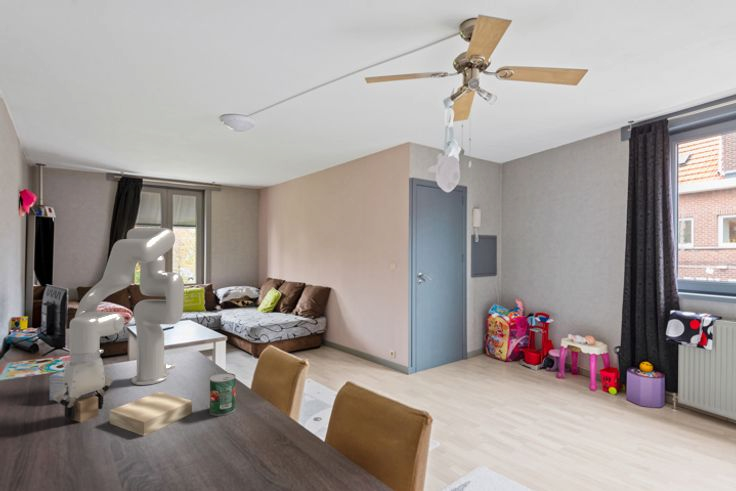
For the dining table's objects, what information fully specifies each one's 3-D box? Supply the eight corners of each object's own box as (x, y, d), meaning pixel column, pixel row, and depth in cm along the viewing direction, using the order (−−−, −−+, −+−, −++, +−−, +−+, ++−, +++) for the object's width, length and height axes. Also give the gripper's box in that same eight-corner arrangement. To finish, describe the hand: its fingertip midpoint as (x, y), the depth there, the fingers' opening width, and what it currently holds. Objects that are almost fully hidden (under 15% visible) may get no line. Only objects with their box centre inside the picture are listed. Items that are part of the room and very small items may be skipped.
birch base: (158, 403, 130) (158, 391, 130) (192, 413, 123) (192, 400, 123) (109, 423, 115) (109, 410, 115) (144, 436, 109) (144, 422, 109)
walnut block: (88, 412, 123) (88, 394, 123) (98, 416, 121) (98, 397, 120) (71, 419, 118) (71, 399, 118) (80, 422, 116) (80, 403, 116)
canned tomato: (204, 412, 124) (204, 378, 124) (223, 403, 131) (223, 371, 131) (221, 418, 120) (221, 383, 120) (240, 408, 127) (240, 375, 127)
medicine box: (81, 396, 135) (81, 372, 135) (70, 402, 130) (70, 376, 130) (60, 395, 136) (60, 371, 135) (48, 400, 131) (48, 375, 131)
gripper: (106, 348, 129) (106, 400, 129) (44, 362, 113) (44, 422, 113) (120, 351, 125) (120, 405, 126) (59, 366, 110) (59, 428, 110)
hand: (84, 413), depth 119 cm, fingers open, 7 cm apart
